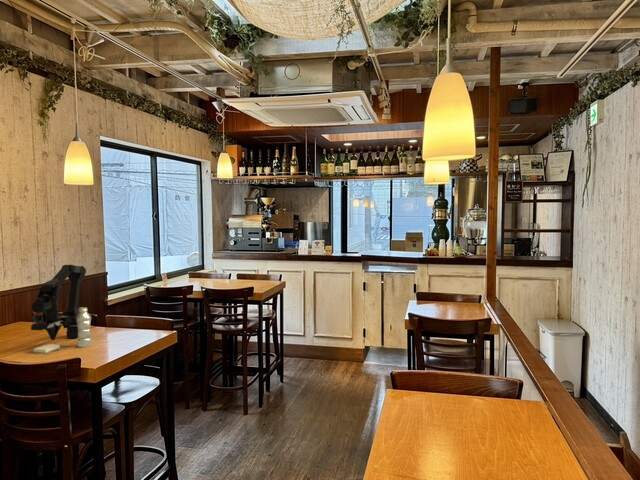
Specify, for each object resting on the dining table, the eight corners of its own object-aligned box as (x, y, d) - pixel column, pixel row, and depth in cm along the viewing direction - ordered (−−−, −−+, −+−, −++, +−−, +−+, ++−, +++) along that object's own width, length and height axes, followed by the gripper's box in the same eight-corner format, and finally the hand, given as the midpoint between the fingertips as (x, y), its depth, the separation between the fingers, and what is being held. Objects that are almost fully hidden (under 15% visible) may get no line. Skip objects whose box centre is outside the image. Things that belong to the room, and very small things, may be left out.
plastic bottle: (81, 345, 217) (78, 306, 216) (94, 345, 218) (92, 306, 217) (74, 349, 211) (72, 309, 210) (89, 349, 212) (87, 308, 211)
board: (49, 345, 219) (49, 344, 219) (71, 347, 215) (71, 346, 215) (24, 354, 205) (24, 353, 205) (47, 356, 202) (47, 354, 202)
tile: (48, 344, 214) (33, 348, 206) (59, 344, 212) (45, 349, 205) (48, 347, 214) (33, 352, 206) (59, 348, 212) (45, 353, 205)
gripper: (53, 304, 223) (55, 334, 224) (20, 312, 205) (22, 344, 206) (71, 305, 220) (73, 335, 221) (39, 313, 202) (41, 345, 203)
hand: (52, 339), depth 213 cm, fingers closed
